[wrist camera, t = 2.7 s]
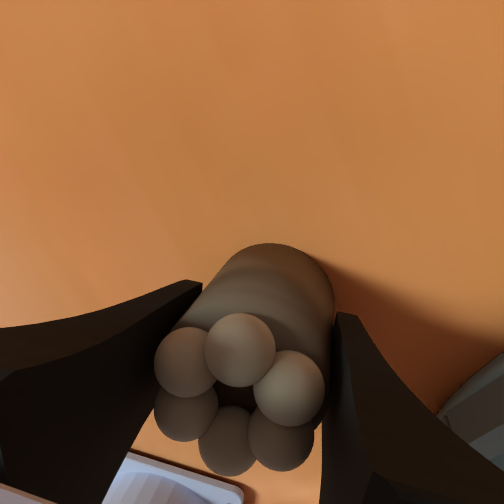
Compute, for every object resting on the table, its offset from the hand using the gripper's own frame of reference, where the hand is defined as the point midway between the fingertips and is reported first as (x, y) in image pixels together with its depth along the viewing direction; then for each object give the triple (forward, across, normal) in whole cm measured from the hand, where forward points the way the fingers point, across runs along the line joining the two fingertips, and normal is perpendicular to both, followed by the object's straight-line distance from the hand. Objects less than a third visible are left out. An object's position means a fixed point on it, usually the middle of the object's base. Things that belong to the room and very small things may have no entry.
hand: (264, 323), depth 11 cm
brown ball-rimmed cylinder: (+2, 0, 0) cm, 2 cm away
